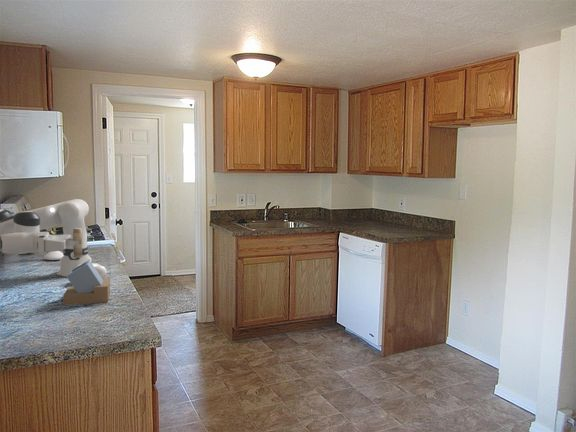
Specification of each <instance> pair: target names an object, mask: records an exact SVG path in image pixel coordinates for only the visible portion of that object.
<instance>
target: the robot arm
mask: <svg viewBox="0 0 576 432" xmlns="http://www.w3.org/2000/svg"><path fill="white" fill-rule="evenodd" d="M89 211H90V207H89V205H88V202H86V201H85V200H84V199H80V198H74V199H70V200H66V201H63V202H58V203H54V204H51V205H46V206H42V207H39V208H38V207H37V208H34V209H30V210H23V211H20V212H17V213H15V212H11V210H8V209H6V208H2V209H1V208H0V252H1V253H3V254H12V255H18V256H19V257H20V256H22V257H23V256H33V255H35V254H40V255H42V254H47V253H49V252H53V251H60V252H62V253H63V255H64V256H63V257H62V258H61V259H59V262H60V263H59V271H58V272H56V276H60V277H61V276H62V277H66V276H67V274H68V273H69V271H71V270H72V269H74V268H76V267H77V266H78V265H80V264H83V263H85V262H86V261H88V260H90V261H91V262H92V257H91V256H90V255H89V250H90V249H89V246H88V231H87V229H86V224H85V223H86V221H85V218H86V217H87V216H88V214H89ZM57 226H62V232H63V233H62V234H56V235H54V234H50V232H49V231H43V230H46V229H47V228H51V227H52V228H53V227H54V228H56V227H57ZM52 228H51V229H52ZM76 228H81V229H82V255H83V257H80V258H74V247H73V245H79V244H80V241H79V240H75V241H73V229H76Z"/></svg>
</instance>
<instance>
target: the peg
mask: <svg viewBox="0 0 576 432" xmlns="http://www.w3.org/2000/svg"><path fill="white" fill-rule="evenodd" d="M75 240H79V241H80V244H79V245H73V247H74V258H80V257H83V255H82V229H81V228H76V229H73V241H75Z"/></svg>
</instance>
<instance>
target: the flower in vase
mask: <svg viewBox="0 0 576 432" xmlns="http://www.w3.org/2000/svg"><path fill="white" fill-rule="evenodd" d="M52 229H53V230H54V231H53V230H52ZM45 231H46V232H49V231H50V233H51V235H57V231H56V229H55V227H51V228H47V229H45ZM43 256H44V257H43V258H44V260H46V261H60V259H61V258H62V257H63V256H64V255H63V251H53V252H49V253H45V255H43Z"/></svg>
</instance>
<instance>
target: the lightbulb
mask: <svg viewBox="0 0 576 432" xmlns="http://www.w3.org/2000/svg"><path fill="white" fill-rule="evenodd" d="M95 269H96V270H97V272H98V273H99V274H100V276H101V277H102V279H106V277H107V274H108V272H107V269H106V267H105V266H103V265H101V264H100V265H99V266H96V267H95Z"/></svg>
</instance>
